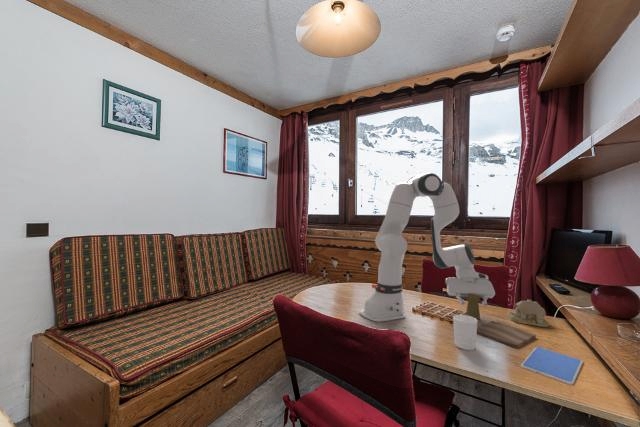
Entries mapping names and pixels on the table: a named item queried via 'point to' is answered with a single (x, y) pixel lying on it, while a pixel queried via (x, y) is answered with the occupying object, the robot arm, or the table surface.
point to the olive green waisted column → (473, 306)
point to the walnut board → (505, 334)
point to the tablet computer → (553, 365)
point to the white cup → (465, 331)
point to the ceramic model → (529, 314)
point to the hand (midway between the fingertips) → (473, 304)
